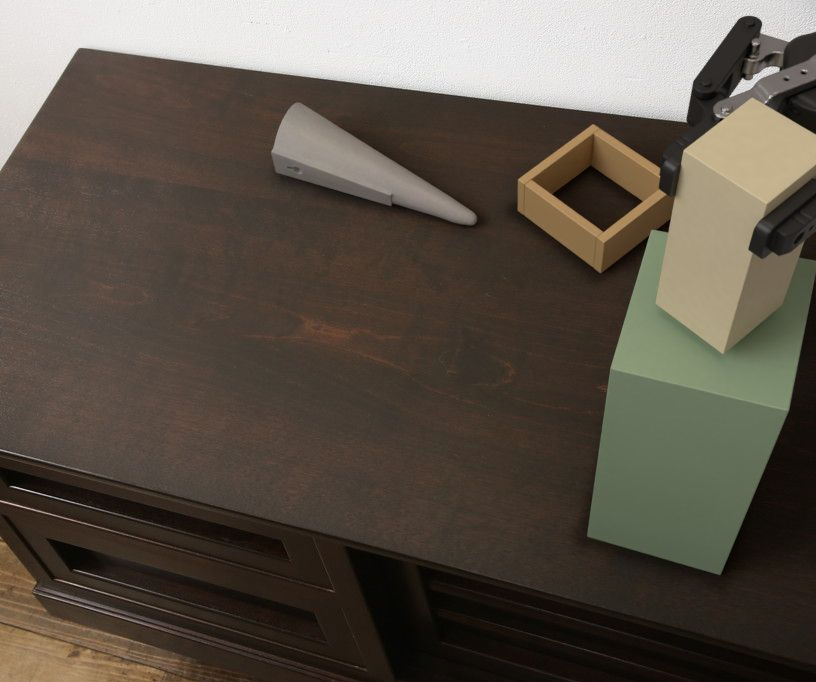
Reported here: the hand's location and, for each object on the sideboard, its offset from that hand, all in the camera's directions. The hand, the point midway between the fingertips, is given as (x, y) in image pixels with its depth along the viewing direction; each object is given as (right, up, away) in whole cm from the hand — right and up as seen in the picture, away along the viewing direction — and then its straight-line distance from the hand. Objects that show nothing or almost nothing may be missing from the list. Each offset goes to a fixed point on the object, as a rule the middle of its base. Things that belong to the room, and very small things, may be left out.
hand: (712, 210), depth 49 cm
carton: (+4, -4, +9) cm, 10 cm away
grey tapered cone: (-11, +8, +48) cm, 50 cm away
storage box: (+6, +5, +42) cm, 43 cm away
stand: (+7, -17, +27) cm, 33 cm away
